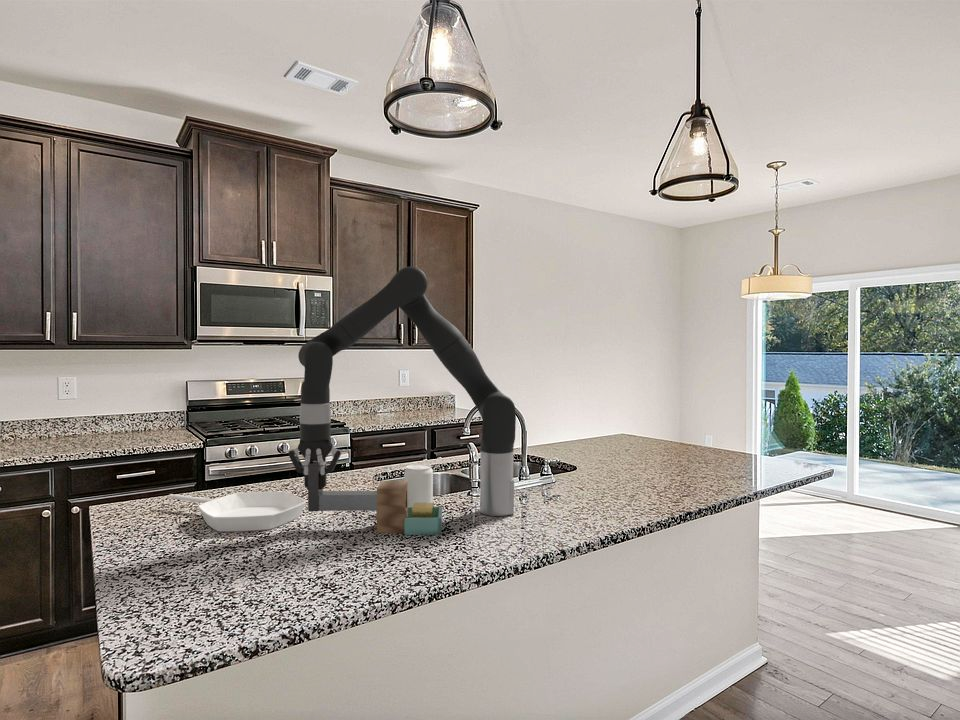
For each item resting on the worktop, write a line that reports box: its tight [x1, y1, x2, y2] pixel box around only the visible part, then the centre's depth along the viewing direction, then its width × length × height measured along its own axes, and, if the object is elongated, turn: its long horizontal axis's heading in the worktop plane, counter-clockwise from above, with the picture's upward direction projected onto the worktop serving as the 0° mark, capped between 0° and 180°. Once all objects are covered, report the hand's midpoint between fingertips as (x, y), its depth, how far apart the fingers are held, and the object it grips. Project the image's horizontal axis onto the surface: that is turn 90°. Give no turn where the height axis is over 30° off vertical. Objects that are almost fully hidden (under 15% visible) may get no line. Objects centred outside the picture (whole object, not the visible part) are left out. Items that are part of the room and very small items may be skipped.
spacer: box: [412, 502, 435, 518], centre depth 153 cm, size 5×5×5 cm
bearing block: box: [376, 480, 408, 534], centre depth 152 cm, size 7×8×11 cm
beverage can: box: [403, 463, 434, 506], centre depth 171 cm, size 8×8×12 cm
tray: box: [403, 505, 443, 536], centre depth 153 cm, size 9×11×4 cm
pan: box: [167, 491, 307, 533], centre depth 162 cm, size 28×41×4 cm
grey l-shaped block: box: [307, 461, 377, 512], centre depth 152 cm, size 21×5×12 cm, turn 92°
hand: (315, 488), depth 152 cm, fingers closed on grey l-shaped block, 2 cm apart
